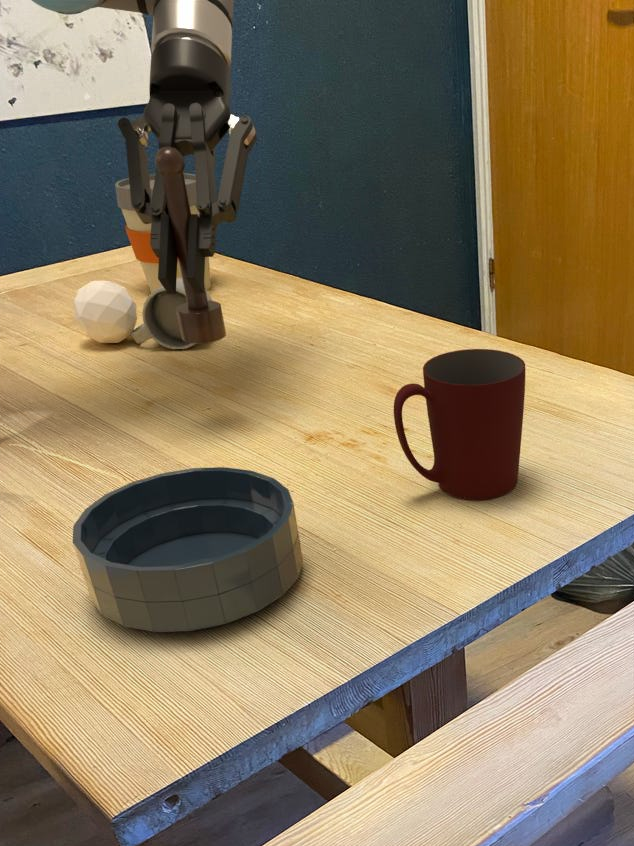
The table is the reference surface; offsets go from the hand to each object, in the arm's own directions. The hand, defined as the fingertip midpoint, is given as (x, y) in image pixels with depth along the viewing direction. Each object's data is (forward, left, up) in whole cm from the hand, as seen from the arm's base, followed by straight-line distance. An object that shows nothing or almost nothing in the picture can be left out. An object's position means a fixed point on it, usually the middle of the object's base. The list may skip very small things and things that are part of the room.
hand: (181, 285), depth 88 cm
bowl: (+14, -25, -15) cm, 33 cm away
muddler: (-1, +4, -6) cm, 7 cm away
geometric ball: (-29, +24, -15) cm, 40 cm away
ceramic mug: (-21, +26, -15) cm, 37 cm away
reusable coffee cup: (-34, +48, -15) cm, 61 cm away
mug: (+29, -4, -15) cm, 33 cm away
